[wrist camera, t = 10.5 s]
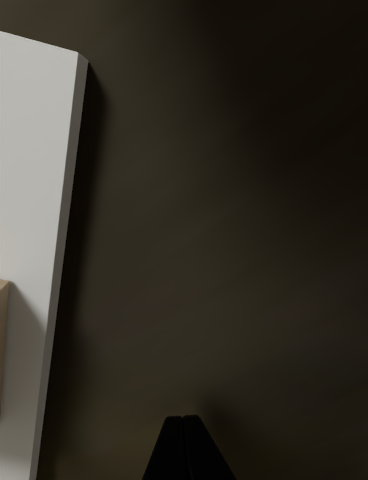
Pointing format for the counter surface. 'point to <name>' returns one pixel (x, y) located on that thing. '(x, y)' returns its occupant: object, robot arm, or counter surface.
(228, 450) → the counter surface
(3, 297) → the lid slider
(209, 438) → the robot arm
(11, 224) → the board
